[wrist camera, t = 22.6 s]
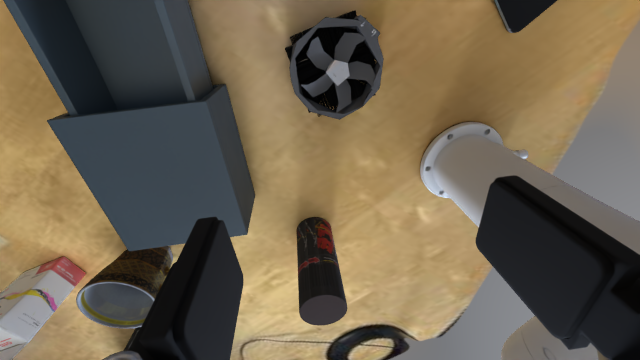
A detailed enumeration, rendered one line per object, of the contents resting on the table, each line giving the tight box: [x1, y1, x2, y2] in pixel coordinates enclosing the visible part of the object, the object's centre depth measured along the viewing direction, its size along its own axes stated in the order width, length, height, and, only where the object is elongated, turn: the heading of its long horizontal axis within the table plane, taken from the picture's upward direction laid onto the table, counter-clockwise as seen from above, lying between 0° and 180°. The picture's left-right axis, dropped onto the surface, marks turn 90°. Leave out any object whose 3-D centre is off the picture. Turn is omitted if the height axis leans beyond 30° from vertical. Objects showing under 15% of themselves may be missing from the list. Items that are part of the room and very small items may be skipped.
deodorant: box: [297, 217, 347, 325], centre depth 39 cm, size 6×6×15 cm
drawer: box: [4, 0, 214, 116], centre depth 25 cm, size 20×13×7 cm, turn 6°
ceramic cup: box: [76, 246, 173, 329], centre depth 41 cm, size 13×10×10 cm
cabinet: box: [47, 84, 255, 251], centre depth 33 cm, size 17×15×9 cm
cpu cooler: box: [285, 10, 383, 120], centre depth 31 cm, size 10×6×10 cm
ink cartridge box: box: [0, 256, 86, 360], centre depth 38 cm, size 9×5×15 cm, turn 112°
